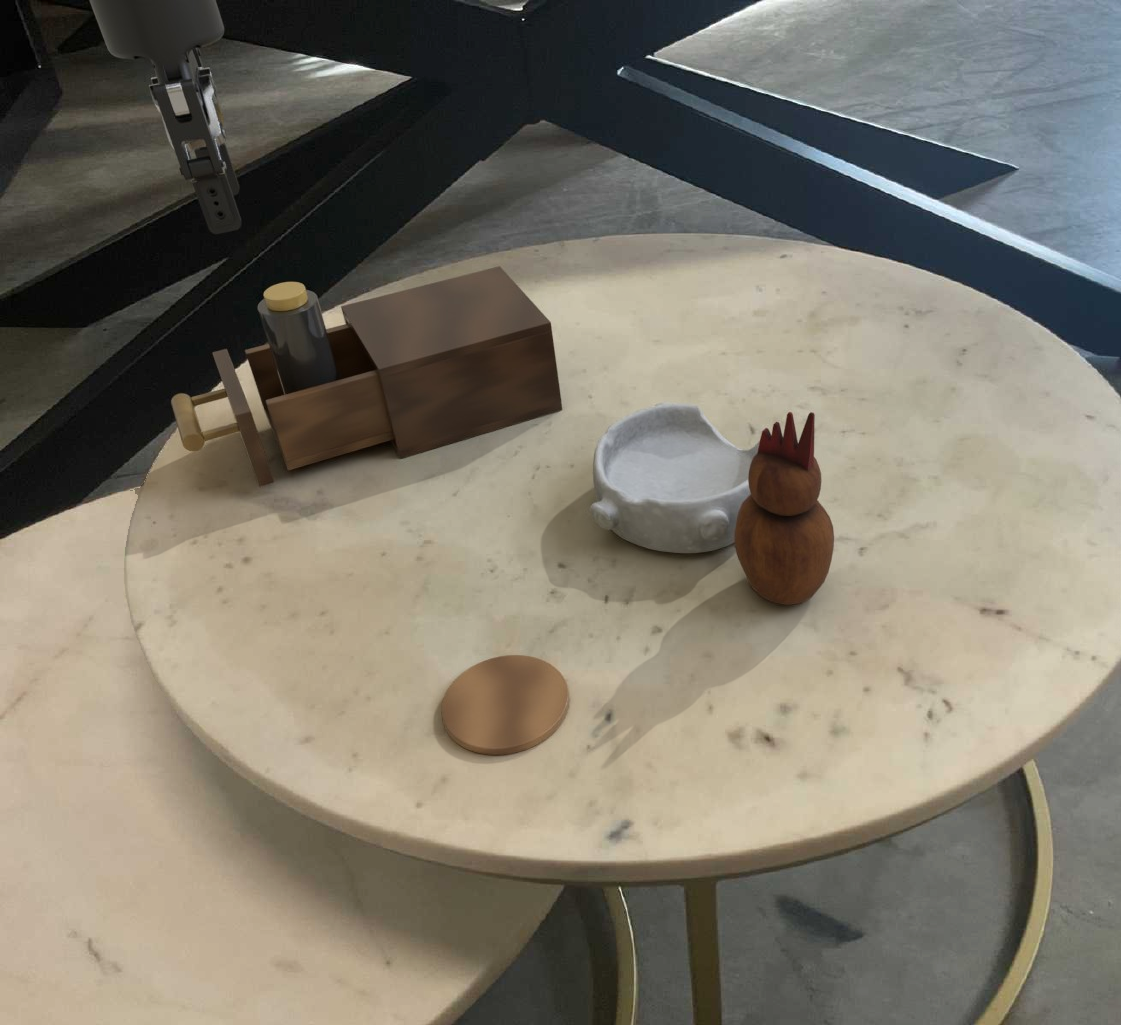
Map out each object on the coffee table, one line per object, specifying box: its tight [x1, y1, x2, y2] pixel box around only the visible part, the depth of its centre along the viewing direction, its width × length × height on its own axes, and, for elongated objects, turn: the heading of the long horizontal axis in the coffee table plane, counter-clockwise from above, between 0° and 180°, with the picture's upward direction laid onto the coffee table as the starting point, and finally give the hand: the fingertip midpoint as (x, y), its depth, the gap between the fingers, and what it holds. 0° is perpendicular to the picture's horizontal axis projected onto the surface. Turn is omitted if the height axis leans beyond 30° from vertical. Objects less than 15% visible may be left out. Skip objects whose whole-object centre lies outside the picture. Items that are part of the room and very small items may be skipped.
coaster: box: [440, 654, 571, 756], centre depth 72 cm, size 8×8×1 cm
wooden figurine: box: [734, 411, 835, 606], centre depth 75 cm, size 7×6×15 cm
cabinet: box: [340, 265, 563, 459], centre depth 99 cm, size 15×13×9 cm
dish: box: [589, 401, 760, 554], centre depth 86 cm, size 14×14×5 cm
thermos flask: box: [257, 281, 340, 395], centre depth 93 cm, size 5×5×12 cm
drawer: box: [170, 323, 394, 488], centre depth 94 cm, size 18×11×7 cm, turn 117°
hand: (226, 212), depth 83 cm, fingers open, 8 cm apart
